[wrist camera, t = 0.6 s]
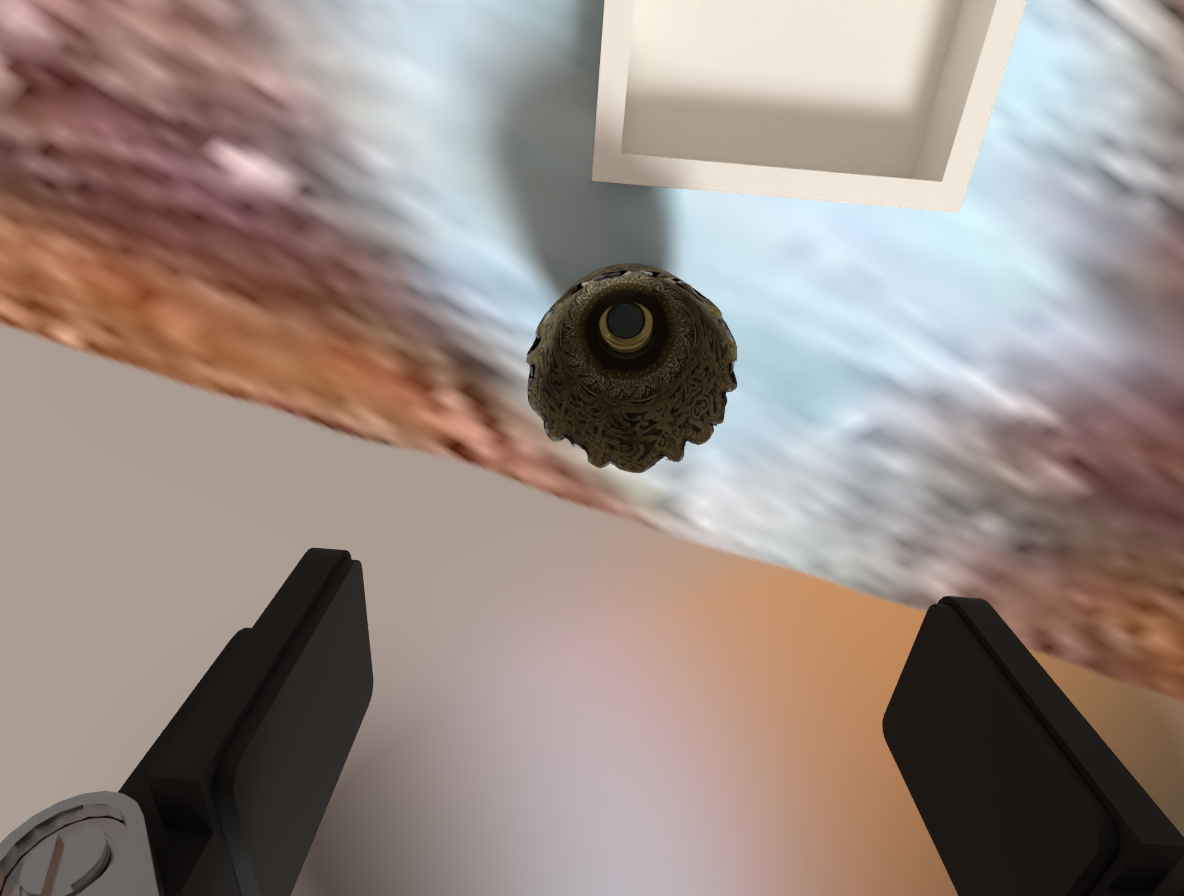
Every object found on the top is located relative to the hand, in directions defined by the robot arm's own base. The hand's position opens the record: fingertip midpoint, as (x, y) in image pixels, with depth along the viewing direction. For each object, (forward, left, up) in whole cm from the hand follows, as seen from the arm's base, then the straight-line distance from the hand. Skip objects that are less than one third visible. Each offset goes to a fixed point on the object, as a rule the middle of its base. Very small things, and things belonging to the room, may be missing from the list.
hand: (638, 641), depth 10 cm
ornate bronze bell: (0, 0, -21) cm, 21 cm away
